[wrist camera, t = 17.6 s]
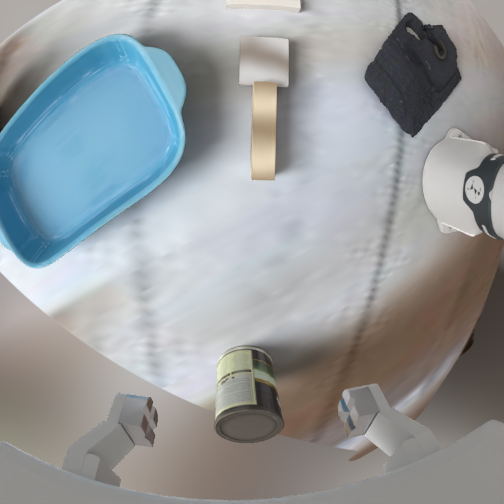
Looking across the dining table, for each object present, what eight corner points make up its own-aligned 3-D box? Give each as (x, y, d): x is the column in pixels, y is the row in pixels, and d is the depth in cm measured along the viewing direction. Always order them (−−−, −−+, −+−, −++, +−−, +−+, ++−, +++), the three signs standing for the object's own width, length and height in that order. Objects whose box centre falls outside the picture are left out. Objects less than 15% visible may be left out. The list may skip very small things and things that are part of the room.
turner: (282, 177, 35) (288, 180, 32) (237, 176, 35) (237, 179, 31) (285, 45, 28) (291, 34, 25) (240, 42, 28) (241, 31, 24)
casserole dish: (154, 25, 26) (139, 4, 19) (226, 149, 34) (225, 149, 27) (-4, 169, 30) (-30, 176, 23) (47, 270, 38) (26, 289, 31)
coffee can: (279, 348, 46) (293, 412, 33) (264, 385, 50) (273, 444, 36) (221, 341, 44) (219, 407, 31) (212, 379, 48) (210, 440, 35)
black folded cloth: (342, 69, 30) (356, 61, 26) (410, 9, 25) (425, 1, 20) (409, 145, 35) (427, 146, 30) (463, 75, 29) (479, 73, 25)
